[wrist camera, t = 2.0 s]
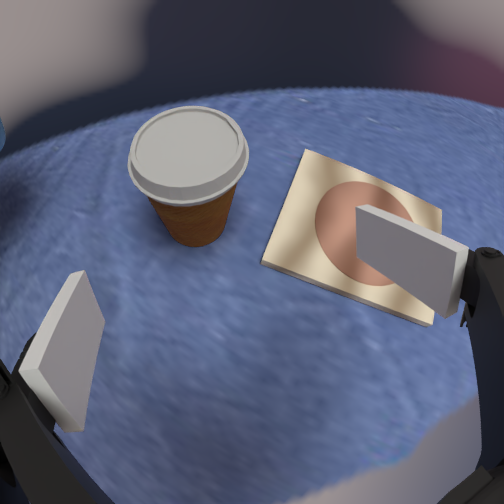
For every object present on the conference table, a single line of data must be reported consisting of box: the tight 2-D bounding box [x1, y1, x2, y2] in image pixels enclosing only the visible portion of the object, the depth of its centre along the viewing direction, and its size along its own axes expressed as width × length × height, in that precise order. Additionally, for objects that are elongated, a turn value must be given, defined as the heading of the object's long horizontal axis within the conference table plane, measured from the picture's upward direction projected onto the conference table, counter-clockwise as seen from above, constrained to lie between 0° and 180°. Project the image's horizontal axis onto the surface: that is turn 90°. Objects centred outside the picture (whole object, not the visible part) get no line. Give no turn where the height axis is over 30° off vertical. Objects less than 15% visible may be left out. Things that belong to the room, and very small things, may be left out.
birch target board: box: [261, 149, 442, 327], centre depth 33 cm, size 20×16×1 cm
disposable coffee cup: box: [128, 106, 249, 247], centre depth 27 cm, size 10×10×12 cm
